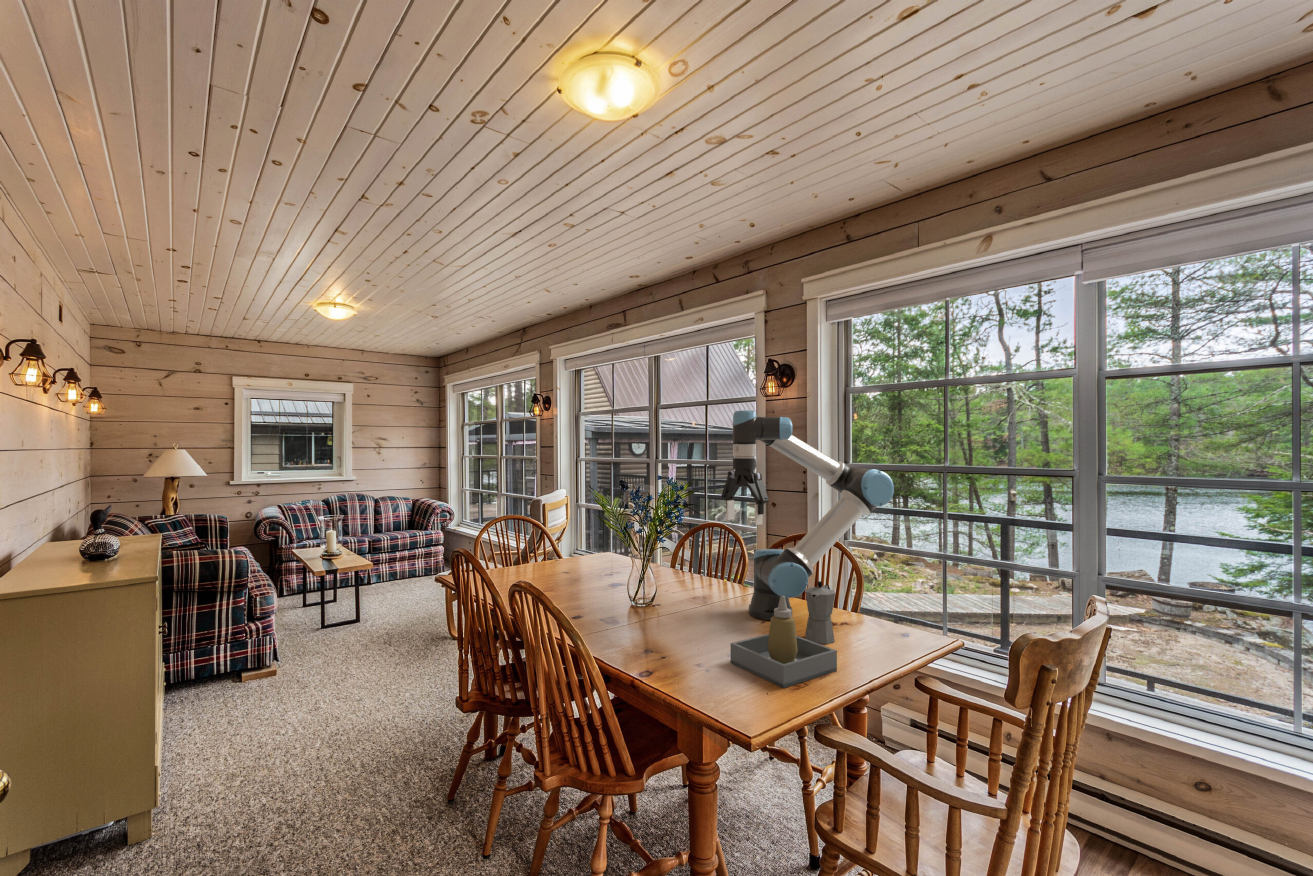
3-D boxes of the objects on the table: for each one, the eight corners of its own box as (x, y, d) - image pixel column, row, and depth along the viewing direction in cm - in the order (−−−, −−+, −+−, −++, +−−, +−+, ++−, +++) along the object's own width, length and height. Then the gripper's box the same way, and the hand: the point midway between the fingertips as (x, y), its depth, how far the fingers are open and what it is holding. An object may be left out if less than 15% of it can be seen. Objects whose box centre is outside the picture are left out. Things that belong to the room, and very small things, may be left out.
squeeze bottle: (795, 670, 156) (795, 601, 156) (765, 665, 159) (765, 598, 159) (799, 659, 163) (799, 594, 163) (770, 655, 166) (770, 591, 166)
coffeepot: (828, 648, 175) (828, 587, 175) (797, 642, 180) (797, 583, 180) (843, 634, 188) (843, 577, 188) (814, 629, 193) (814, 574, 193)
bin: (781, 649, 175) (782, 630, 175) (836, 671, 158) (836, 650, 158) (730, 663, 164) (730, 643, 164) (783, 688, 147) (783, 666, 147)
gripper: (711, 456, 203) (711, 518, 203) (762, 458, 182) (762, 527, 182) (727, 456, 207) (727, 517, 207) (780, 458, 186) (780, 525, 186)
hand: (744, 522), depth 194 cm, fingers open, 13 cm apart
